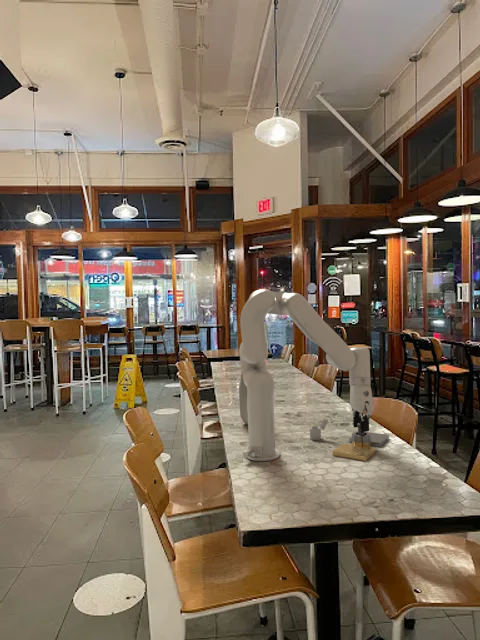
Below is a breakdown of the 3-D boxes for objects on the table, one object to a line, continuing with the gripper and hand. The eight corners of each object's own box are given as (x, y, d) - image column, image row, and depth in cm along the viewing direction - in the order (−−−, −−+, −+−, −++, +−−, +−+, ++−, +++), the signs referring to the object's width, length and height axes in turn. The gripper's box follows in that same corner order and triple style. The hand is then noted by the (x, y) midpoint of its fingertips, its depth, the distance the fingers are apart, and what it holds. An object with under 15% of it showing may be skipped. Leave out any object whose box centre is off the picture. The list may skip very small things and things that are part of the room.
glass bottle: (261, 427, 197) (258, 364, 196) (238, 426, 199) (235, 364, 198) (264, 421, 207) (262, 361, 206) (242, 420, 209) (240, 361, 208)
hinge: (365, 461, 152) (365, 446, 151) (332, 455, 158) (332, 441, 158) (389, 438, 174) (388, 426, 174) (359, 434, 181) (358, 422, 181)
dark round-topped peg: (364, 448, 164) (363, 425, 163) (356, 447, 165) (355, 424, 165) (367, 446, 166) (366, 423, 166) (359, 445, 168) (358, 422, 168)
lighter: (310, 439, 177) (309, 419, 177) (310, 438, 179) (309, 418, 178) (328, 439, 177) (327, 419, 176) (327, 437, 178) (327, 418, 178)
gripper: (380, 383, 157) (382, 434, 158) (358, 376, 174) (360, 422, 175) (360, 385, 156) (362, 436, 157) (340, 377, 173) (342, 424, 173)
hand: (361, 428), depth 166 cm, fingers open, 5 cm apart
